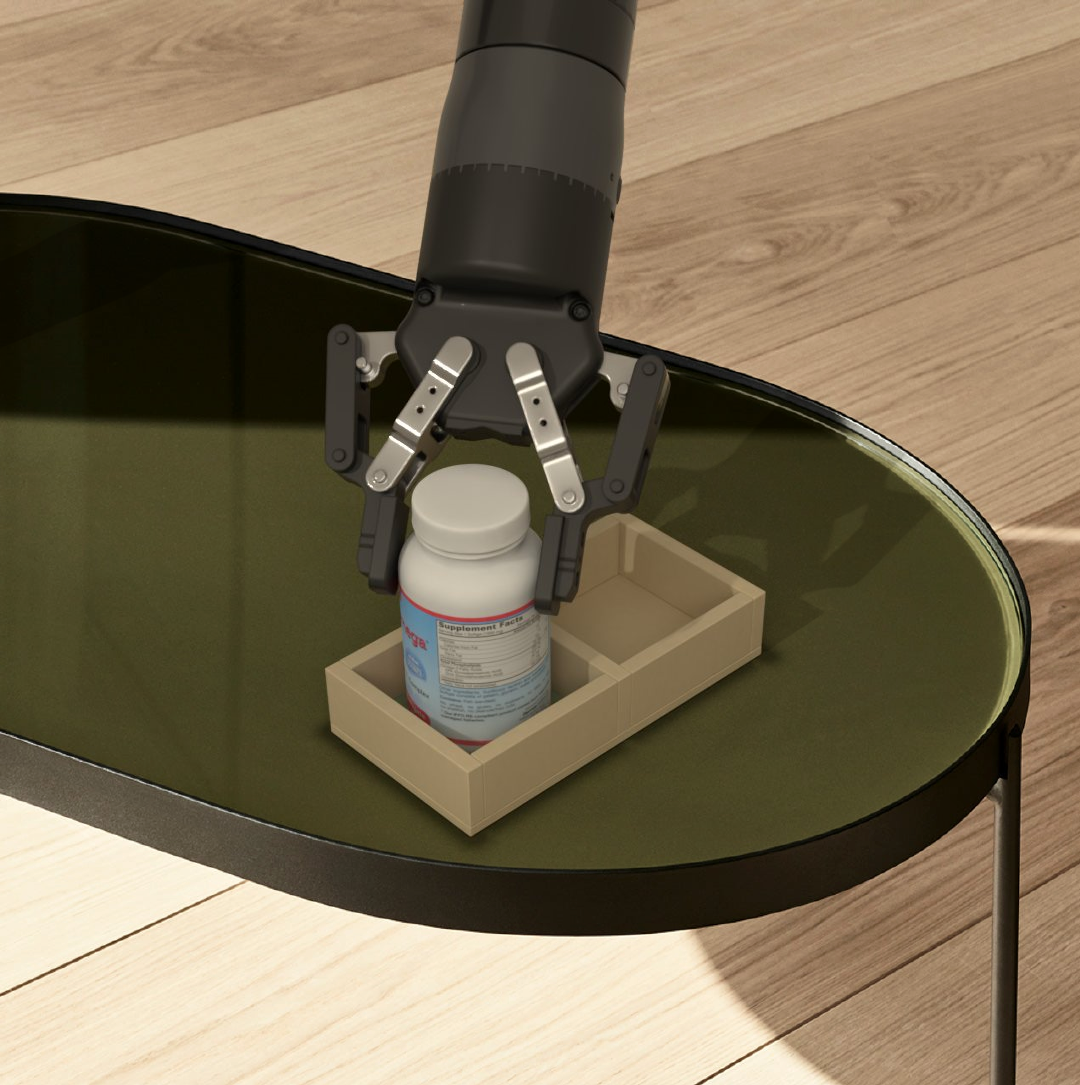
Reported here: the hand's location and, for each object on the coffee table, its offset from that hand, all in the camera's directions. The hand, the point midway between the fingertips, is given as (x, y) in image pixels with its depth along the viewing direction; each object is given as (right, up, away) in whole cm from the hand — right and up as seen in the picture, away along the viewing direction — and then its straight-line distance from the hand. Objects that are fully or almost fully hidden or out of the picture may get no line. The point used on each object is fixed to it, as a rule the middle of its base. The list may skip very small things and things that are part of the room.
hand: (464, 601), depth 77 cm
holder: (+3, -4, +9) cm, 10 cm away
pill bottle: (0, -5, +6) cm, 8 cm away
